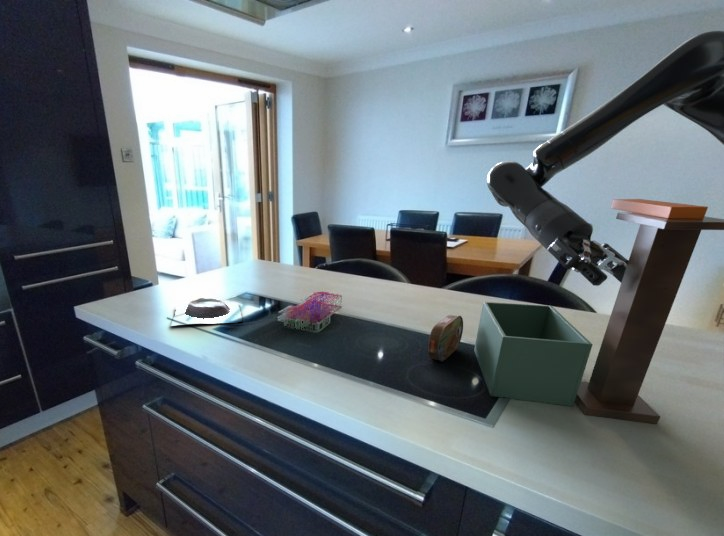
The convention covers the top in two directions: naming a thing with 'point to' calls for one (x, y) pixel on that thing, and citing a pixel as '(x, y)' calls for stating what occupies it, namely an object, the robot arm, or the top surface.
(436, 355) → the tin
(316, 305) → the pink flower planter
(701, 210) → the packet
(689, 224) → the stand
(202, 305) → the dark grey round dish
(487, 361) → the bin
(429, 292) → the top surface
